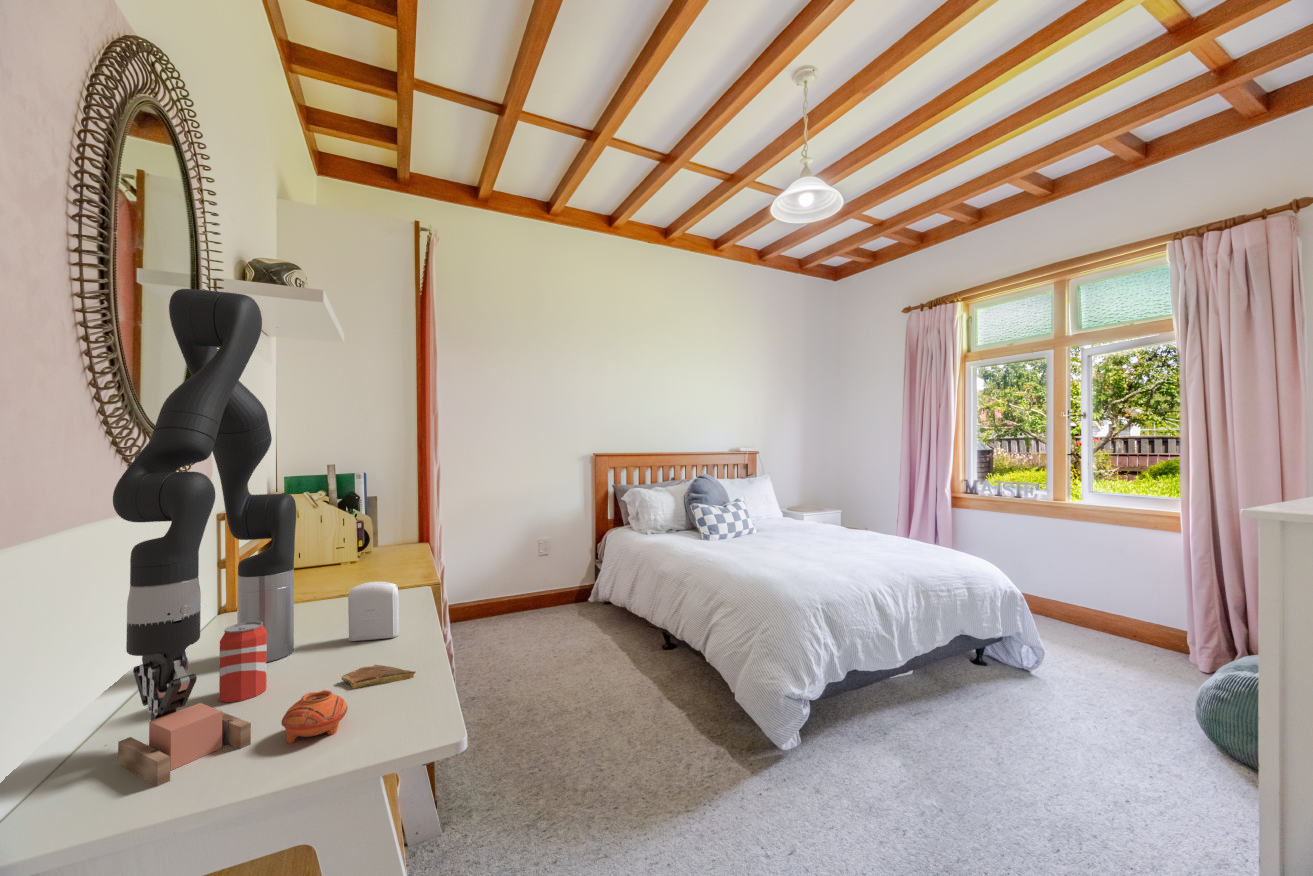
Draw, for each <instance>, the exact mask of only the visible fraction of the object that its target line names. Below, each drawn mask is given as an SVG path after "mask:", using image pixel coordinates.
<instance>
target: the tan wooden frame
mask: <svg viewBox="0 0 1313 876" xmlns="http://www.w3.org/2000/svg"><path fill="white" fill-rule="evenodd" d="M251 728H252V722H249V721H247V720H244V719H242V718H239V717H237V716H234V715H231V714H229V713H226V712H223V711H222V743H223V745H231V746H233V747H235V748H237V749H240V750H241V749H243V748H246V747H248V746H250V745H251V743H252V741H251V740H252V739H251V738H252V737H251V735H252V734H251V733H252V729H251ZM117 743H118V744H117V746H118V748H117V766H120V767H122V768H124V769H126V770H128V771H129V772H130V773H132V774H134V775H136V776H138V777H140V778H141V779H143V780H145V781H147V782H148V783H150V784H153V785H154V786H156V787H157V788H158V787H159V786H160V787H161V786H162V785H165V784H166V783H169V782H171V771H170V756H168V755H166V754H164V753H162V752H161V749H160V748H159V749H154V748H152V747H150V746H149V744H148V745H147V744H145V743H144V742H142V741H140V740H138V739H135V738H134V737H131V736H130V737H127V738H124V739H122V740H119V741H117Z"/></svg>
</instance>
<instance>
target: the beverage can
mask: <svg viewBox="0 0 1313 876" xmlns="http://www.w3.org/2000/svg"><path fill="white" fill-rule="evenodd" d="M262 624H263V622H258V621H254V622H245V623H240V624H237V623H236V624H233V625H229V626H227V627H225V628H224V630H223V632H224V633H223V635H222V637H221V638H220V640H219V676H218V677H219V678H218V679H219V685H218V686H219V689H218V690H219V691H218V692H219V693H218V695H219V699H218V700H219V702H224V703H235V702H242V701H246V700H248V699H251V698H255V697H257V696H259V695H260V694H262V693H264V692H265V691H266V690H267V681H268V680H267V677H268V676H267V675H268V674H267V669H268V668H267V667H268V666H267V663H268V662H267V630H266V629H265V628H264V626H263V625H262Z"/></svg>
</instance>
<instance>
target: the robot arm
mask: <svg viewBox="0 0 1313 876" xmlns="http://www.w3.org/2000/svg"><path fill="white" fill-rule="evenodd" d="M168 312H169V313H168V314H169V320H170V324H171V327H172V328H171V329H172V332H173V333H174V336H175V339H176V342H177V344H178V347H179V350H180V352H181V354H182V357H183V359H184V362H185V364H186V366H187V369H188V372H189V373H190V377H189V378H187V379H186V380H185V381H184V382H182V383H181V384H180V385H178V386H177V387H176V388H175V389H174V390H172V392H171V393H170V394H169V395H168V397H167V398H166V399H165V400H164V402H163V403H162V406H161V408H160V410H159V414H158V416H157V419H156V422H155V425H154V428H153V431H152V433H151V437H150V440H149V441H148V442H147V444H146V445H145V446H144V447H143V449H141V451H140V452H139V454H138V455H137V456H136V457H135V459H134V460H133V461H132V463H130V465H129V466H128V468H127V469H126V470H125V471H124V472H123V474H122V475H121V477H120V478H119V479H118V482H117V484H115V487H114V490H113V494H112V506H113V508H114V511H115V512H116V514H117V515H118V517H119V518H120V519H122V520H124V521H127V522H131V523H157V522H159V523H160V522H171V523H170V526H169V528H168V530H167V532H166V533H165V535H164V536H162V537H157V538H152V539H147V540H144V541H141V542H139V543H137V544H135V545H134V546H133V547H132V549H131V552H130V560H129V561H130V562H129V564H130V565H129V567H130V570H129V574H130V575H129V590H128V597H127V602H126V645H125V646H126V647H125V648H126V650H125V652H126V653H127V654H129V655H130V656H132V657H133V656H134V657H141V661H142V662H141V663H142V664H140V665H137V666H134V667H133V669H132V672H133V676H134V680H135V681H136V682H135V683H136V686H137V690H138V694H139V696H140V699H141V703H142V706H144V707H145V706H147V712H148V713H149V714H150V721H152V720H154V719H157V718H160V717H163V716H165V715H168V714H171V713H174V712H176V711H177V709H178V708H182V707H184V706H186V704H187V702H188V700H189V698H190V695H191V694H192V691H193V689H194V687H195V685H196V683H197V677H198V676H197V674H196V673H191V674H187V671H188V669H189V658H188V657H187V654H186V653H187V652H186V649H187V648H188V647H189V646H191V645H194V644H196V643H197V642H198V641H199V639H201V602H202V601H201V600H202V599H201V597H202V595H201V587H200V581H199V575H200V574H199V573H200V571H199V569H200V568H199V565H200V564H199V555H200V554H199V551H200V547H201V544H202V540H203V537H204V533H205V530H206V527H207V524H208V521H209V518H210V516H211V514H212V510H213V508H214V504H215V502H216V487H215V486H214V483H213V481H212V480H211V478H209V476H207V475H205V474H204V473H202V472H198V471H178V470H179V469H181V468H183V467H185V466H189V465H194V464H198V463H202V462H203V461H205V460H207V459H208V458H209V457H211V454H212V455H213V458H214V461H215V464H216V469H217V471H218V472H217V473H218V476H219V478H220V479H219V480H220V485H221V490H222V497H223V504H224V510H225V517H226V521H227V526H228V529H229V531H230V533H231V535H232V537H233V538H234V539H236V540H241V541H252V540H253V541H255V540H256V541H257V540H269V539H272V543H271V546H269V547H268V548H267V549H265V550H263V551H262V552H259V553H257V554H254V555H251V556H248V557H246V558H244V559H241V560H240V561H239V563H238V565H237V613H236V614H237V617H236V620H237V623H236V624H240V623H245V622H254V621H258V622H263V624H262V625H263V626H264V628H265V629H266V630H267V663H269V662H273V661H276V660H279V659H282V658H286V657H287V656H289V655H290V654H291V655H292V653H293V652H294V650H295V647H294V645H295V642H294V641H295V639H294V638H295V582H294V581H295V579H294V577H295V575H294V574H295V566H294V565H295V551H296V550H295V547H296V546H295V543H296V541H295V540H296V525H297V504H296V503H297V502H296V501H295V500H296V499H295V498H294V496H293V495H292V494H289V493H267V494H266V493H265V494H264V493H263V494H251V493H250V491H249V481H250V479H251V477H252V475H253V473H254V472H255V470H256V468H257V467H258V466H259V464H260V463H261V462H262V460H263V459H264V457H265V456H266V454H267V453H268V451H269V450H270V446H271V445H272V440H273V439H272V432H271V427H270V422H269V417H268V414H267V413H268V412H267V410H266V408H265V406H264V405H263V403H262V402H261V400H259V398H257V396H255V394H254V393H253V392H252V391H250V390H249V389H248V387H246V386H245V384H243V383H242V382H241V381H240V379H241V376H242V375H243V373H244V371H245V369H246V368H247V365H248V363H249V361H250V359H251V357H252V355H253V353H254V351H255V349H256V348H257V345H258V343H259V340H260V338H261V337H260V336H261V333H262V328H263V317H262V312H261V309H260V307H259V304H258V303H257V302H256V300H255V299H254V298H253V297H251V296H249V295H246V294H241V293H237V292H229V291H217V290H207V289H196V288H195V289H194V288H180V289H177V290H175V291H173V293H172V294H171V296H170V300H169V304H168ZM218 348H219V349H218Z"/></svg>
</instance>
